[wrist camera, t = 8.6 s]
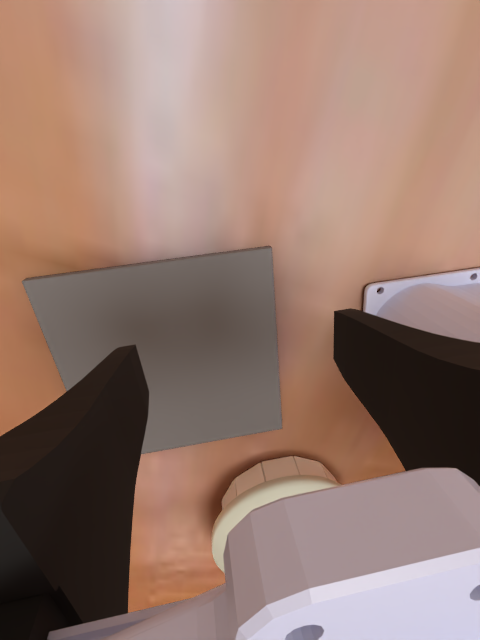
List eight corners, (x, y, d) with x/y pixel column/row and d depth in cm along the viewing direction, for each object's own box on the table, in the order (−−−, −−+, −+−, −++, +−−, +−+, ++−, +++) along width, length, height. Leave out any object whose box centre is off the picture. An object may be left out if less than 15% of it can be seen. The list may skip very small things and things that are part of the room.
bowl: (336, 447, 30) (351, 475, 27) (333, 523, 34) (345, 554, 32) (215, 470, 29) (218, 501, 26) (229, 545, 34) (233, 578, 31)
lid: (318, 449, 25) (346, 511, 21) (377, 528, 31) (409, 590, 26) (180, 527, 27) (178, 599, 22) (260, 589, 32) (271, 657, 28)
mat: (269, 245, 21) (271, 247, 20) (280, 423, 28) (282, 428, 27) (26, 278, 20) (21, 281, 19) (97, 456, 26) (95, 462, 26)
